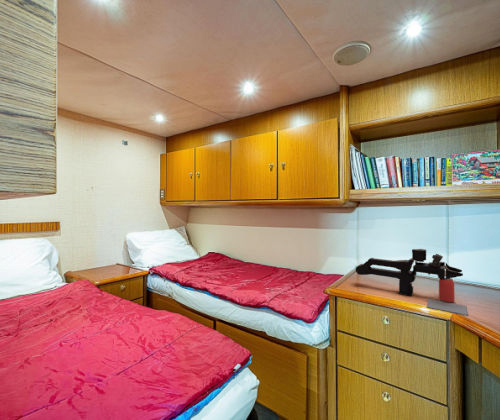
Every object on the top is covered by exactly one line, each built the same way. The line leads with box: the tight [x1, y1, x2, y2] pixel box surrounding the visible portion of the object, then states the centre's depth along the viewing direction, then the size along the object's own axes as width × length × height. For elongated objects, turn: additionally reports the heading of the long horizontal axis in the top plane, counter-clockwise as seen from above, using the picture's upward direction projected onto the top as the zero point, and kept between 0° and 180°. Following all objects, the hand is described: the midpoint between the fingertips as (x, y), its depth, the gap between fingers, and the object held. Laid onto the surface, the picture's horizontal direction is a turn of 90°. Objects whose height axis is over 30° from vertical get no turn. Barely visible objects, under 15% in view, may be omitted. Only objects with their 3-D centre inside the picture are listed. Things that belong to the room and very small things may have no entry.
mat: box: [426, 298, 469, 317], centre depth 129 cm, size 16×14×1 cm
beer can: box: [438, 277, 456, 303], centre depth 136 cm, size 7×7×12 cm
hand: (462, 272), depth 132 cm, fingers open, 9 cm apart
